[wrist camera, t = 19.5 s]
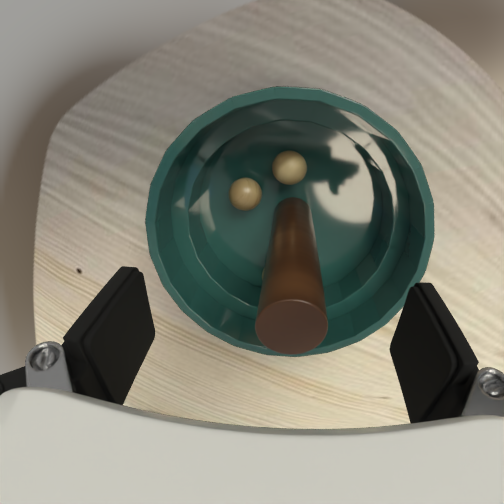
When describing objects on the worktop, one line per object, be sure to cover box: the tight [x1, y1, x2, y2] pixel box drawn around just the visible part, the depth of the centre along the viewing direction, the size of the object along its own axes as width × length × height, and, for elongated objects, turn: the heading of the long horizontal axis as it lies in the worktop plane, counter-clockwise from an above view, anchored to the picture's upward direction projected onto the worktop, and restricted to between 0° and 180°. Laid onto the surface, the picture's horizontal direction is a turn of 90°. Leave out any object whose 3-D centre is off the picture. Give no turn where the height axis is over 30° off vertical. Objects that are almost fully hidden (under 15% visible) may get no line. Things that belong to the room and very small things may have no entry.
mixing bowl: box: [145, 86, 434, 357], centre depth 18 cm, size 15×15×6 cm
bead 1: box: [228, 178, 262, 211], centre depth 18 cm, size 2×2×2 cm
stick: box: [255, 197, 328, 355], centre depth 15 cm, size 2×2×11 cm
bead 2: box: [272, 151, 307, 185], centre depth 17 cm, size 2×2×2 cm
